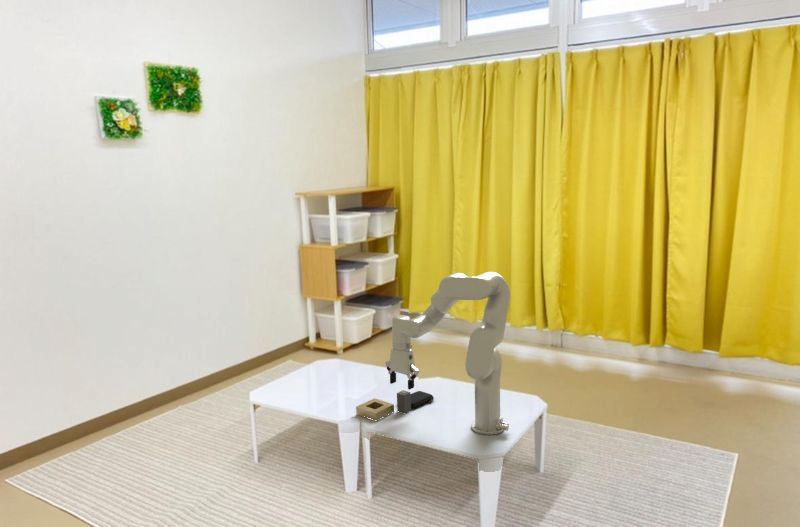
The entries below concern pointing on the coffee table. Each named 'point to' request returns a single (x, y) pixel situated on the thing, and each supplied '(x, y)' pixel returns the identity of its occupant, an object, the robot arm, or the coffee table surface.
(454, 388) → the coffee table surface
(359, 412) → the socket plate
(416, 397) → the carrying case or bag
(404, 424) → the coffee table surface
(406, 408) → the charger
